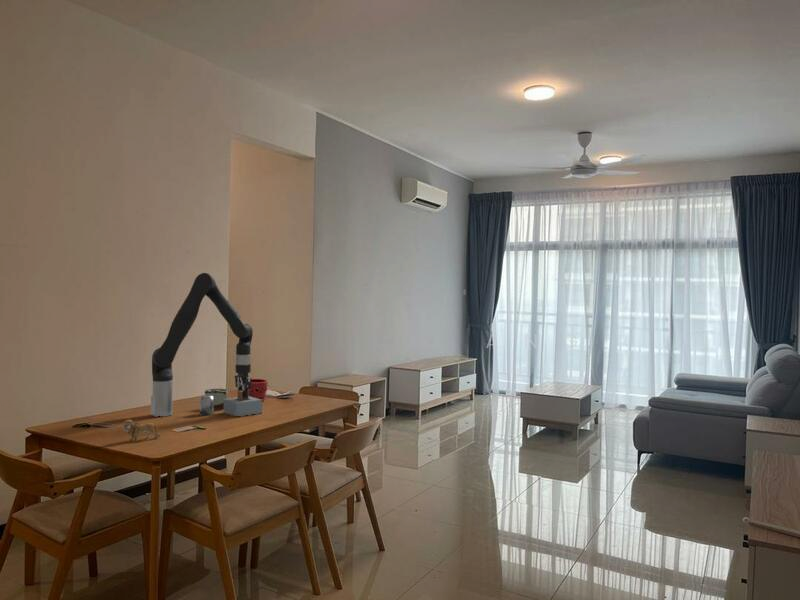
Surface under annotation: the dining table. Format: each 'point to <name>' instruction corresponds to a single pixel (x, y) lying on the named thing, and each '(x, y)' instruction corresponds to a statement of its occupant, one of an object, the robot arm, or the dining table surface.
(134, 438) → the lion figurine
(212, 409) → the round peg
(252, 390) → the plant pot
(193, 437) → the dining table surface
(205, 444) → the dining table surface
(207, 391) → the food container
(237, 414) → the socket block
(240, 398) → the square peg
